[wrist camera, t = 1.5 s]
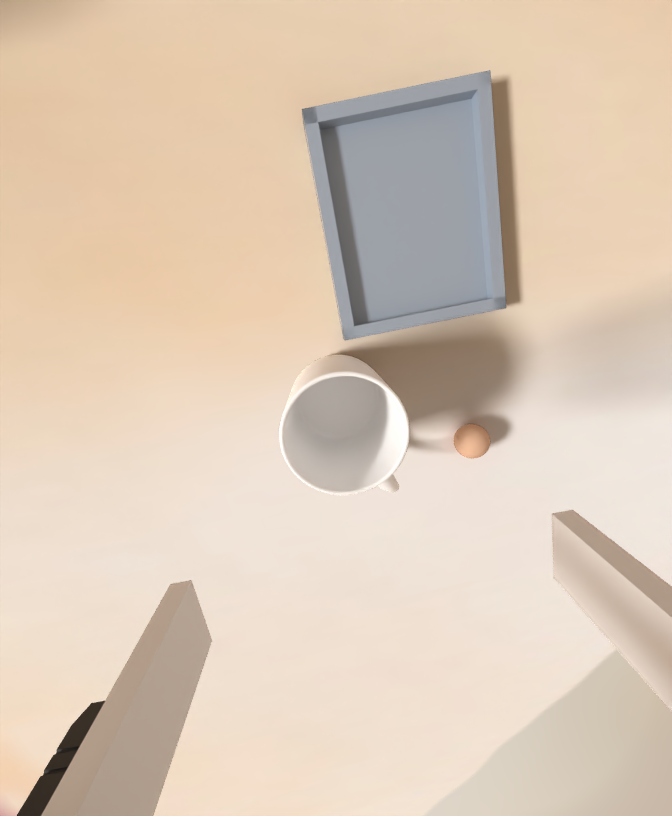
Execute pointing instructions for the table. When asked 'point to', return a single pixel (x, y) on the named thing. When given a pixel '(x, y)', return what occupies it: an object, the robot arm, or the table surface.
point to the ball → (471, 441)
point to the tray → (410, 204)
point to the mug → (344, 428)
